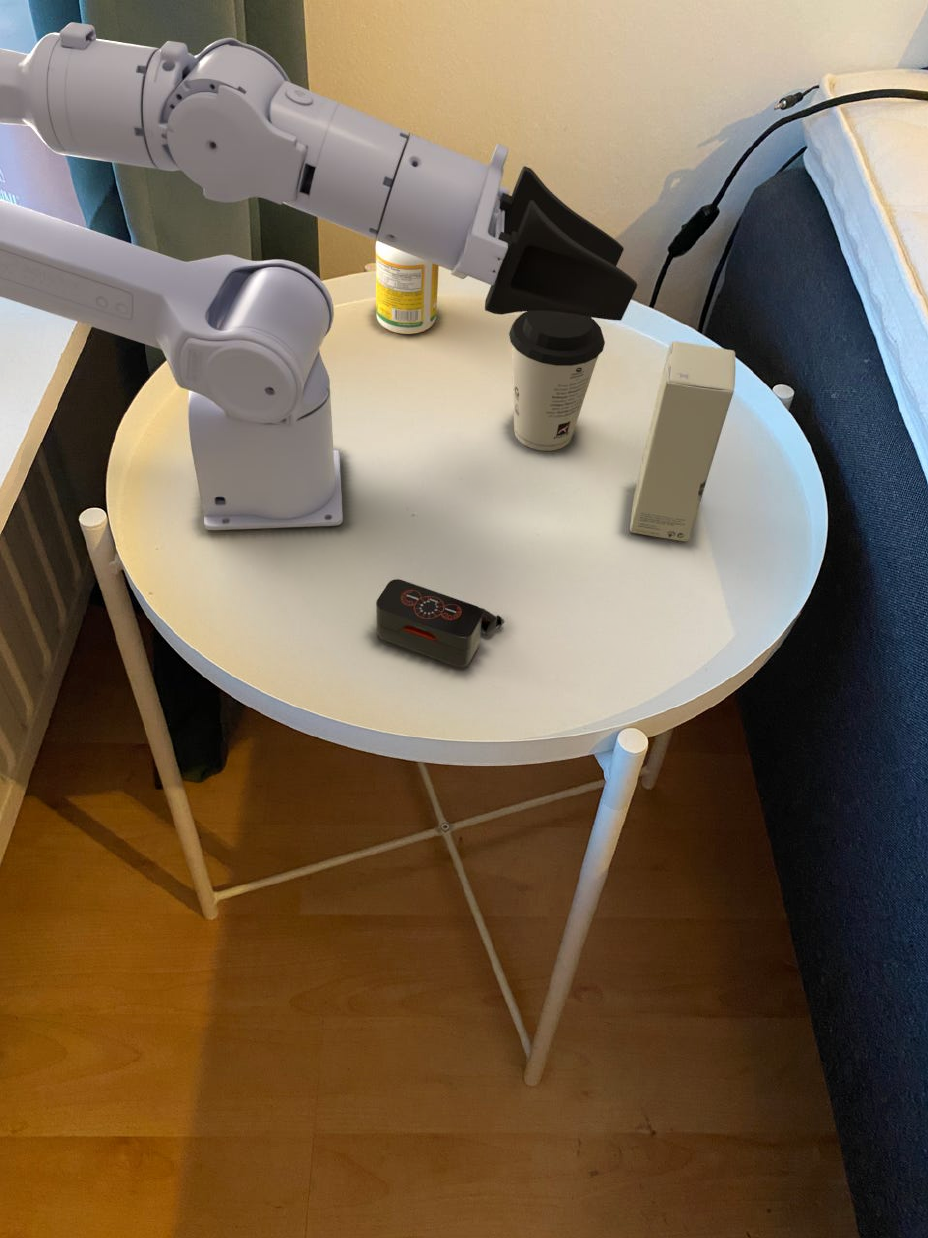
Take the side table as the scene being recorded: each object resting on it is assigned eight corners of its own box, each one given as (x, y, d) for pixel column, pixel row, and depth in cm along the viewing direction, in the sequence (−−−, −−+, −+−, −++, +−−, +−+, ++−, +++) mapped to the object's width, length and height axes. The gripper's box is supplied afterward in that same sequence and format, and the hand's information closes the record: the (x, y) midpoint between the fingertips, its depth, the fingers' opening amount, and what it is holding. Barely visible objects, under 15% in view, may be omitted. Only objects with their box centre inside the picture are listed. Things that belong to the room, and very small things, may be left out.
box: (688, 545, 69) (736, 394, 59) (627, 534, 69) (665, 382, 60) (692, 497, 72) (738, 347, 63) (633, 487, 73) (670, 336, 63)
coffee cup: (587, 464, 74) (609, 351, 67) (496, 456, 74) (508, 342, 67) (586, 409, 79) (607, 297, 71) (501, 401, 79) (512, 289, 71)
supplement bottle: (402, 342, 84) (403, 236, 76) (363, 315, 86) (361, 210, 79) (449, 321, 86) (454, 216, 79) (409, 295, 89) (411, 192, 81)
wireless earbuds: (477, 678, 60) (481, 644, 58) (373, 640, 62) (372, 606, 59) (504, 627, 63) (509, 592, 60) (404, 592, 64) (404, 557, 62)
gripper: (405, 131, 44) (672, 243, 47) (428, 94, 56) (640, 185, 59) (359, 278, 48) (608, 375, 50) (390, 214, 60) (590, 295, 62)
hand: (622, 281), depth 55 cm, fingers open, 7 cm apart
